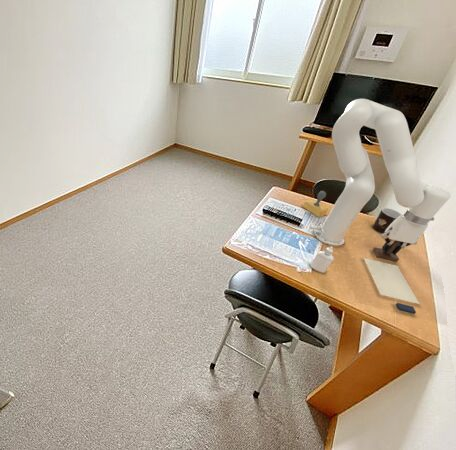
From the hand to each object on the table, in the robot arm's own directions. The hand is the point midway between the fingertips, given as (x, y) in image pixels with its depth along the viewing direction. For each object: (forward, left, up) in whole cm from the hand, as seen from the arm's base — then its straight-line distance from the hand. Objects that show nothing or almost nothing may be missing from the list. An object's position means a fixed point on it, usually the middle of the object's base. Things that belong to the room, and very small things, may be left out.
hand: (388, 251), depth 116 cm
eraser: (-3, -29, -4) cm, 30 cm away
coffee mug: (+7, +22, -4) cm, 23 cm away
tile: (-3, -15, -4) cm, 16 cm away
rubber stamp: (-24, +28, -4) cm, 37 cm away
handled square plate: (0, 0, -4) cm, 4 cm away
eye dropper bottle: (-30, -18, -4) cm, 35 cm away
